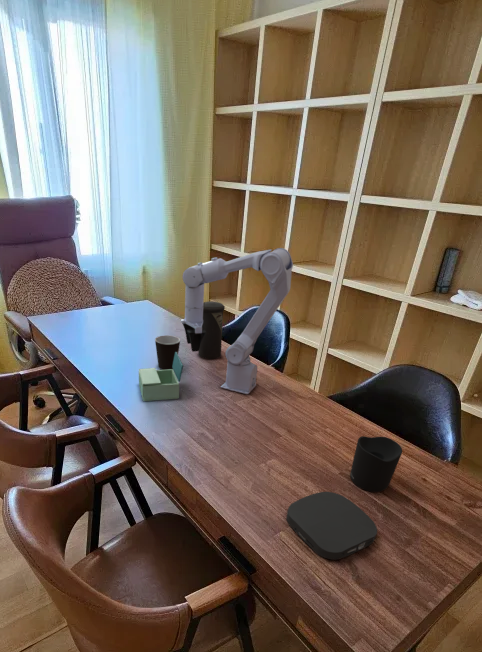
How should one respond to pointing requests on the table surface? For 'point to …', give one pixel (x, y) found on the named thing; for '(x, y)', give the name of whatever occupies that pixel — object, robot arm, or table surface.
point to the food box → (158, 384)
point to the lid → (177, 366)
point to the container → (212, 330)
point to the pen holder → (375, 462)
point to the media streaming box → (331, 524)
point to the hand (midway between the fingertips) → (192, 347)
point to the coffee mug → (166, 350)
